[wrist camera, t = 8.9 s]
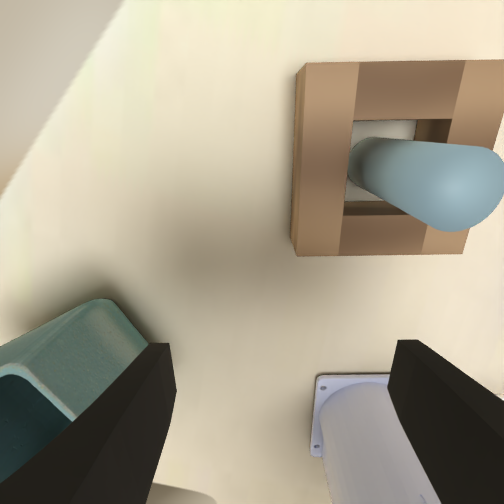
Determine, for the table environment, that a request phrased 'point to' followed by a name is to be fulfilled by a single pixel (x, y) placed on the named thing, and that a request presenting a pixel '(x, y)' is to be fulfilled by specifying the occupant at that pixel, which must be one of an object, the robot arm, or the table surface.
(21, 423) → the flower pot
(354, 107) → the open cardboard frame
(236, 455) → the table surface
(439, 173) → the blue-gray dowel
